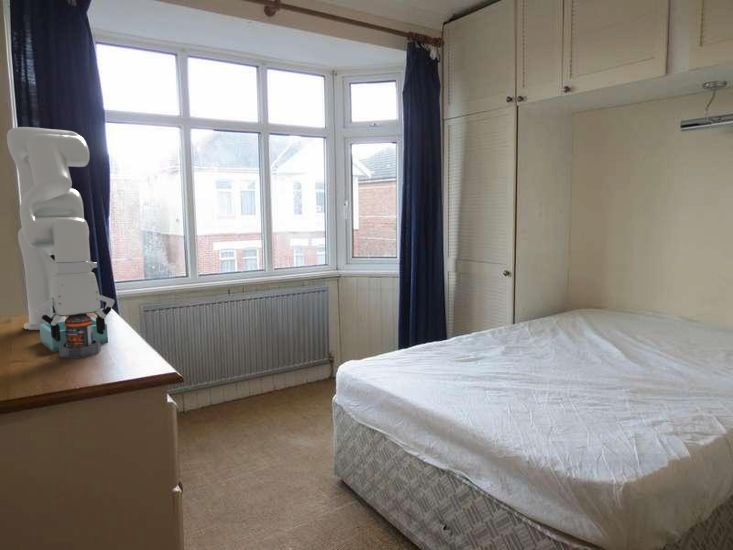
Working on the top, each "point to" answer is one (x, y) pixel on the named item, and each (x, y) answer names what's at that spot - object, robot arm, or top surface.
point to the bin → (54, 345)
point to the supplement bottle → (78, 330)
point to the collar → (79, 350)
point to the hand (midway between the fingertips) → (79, 336)
